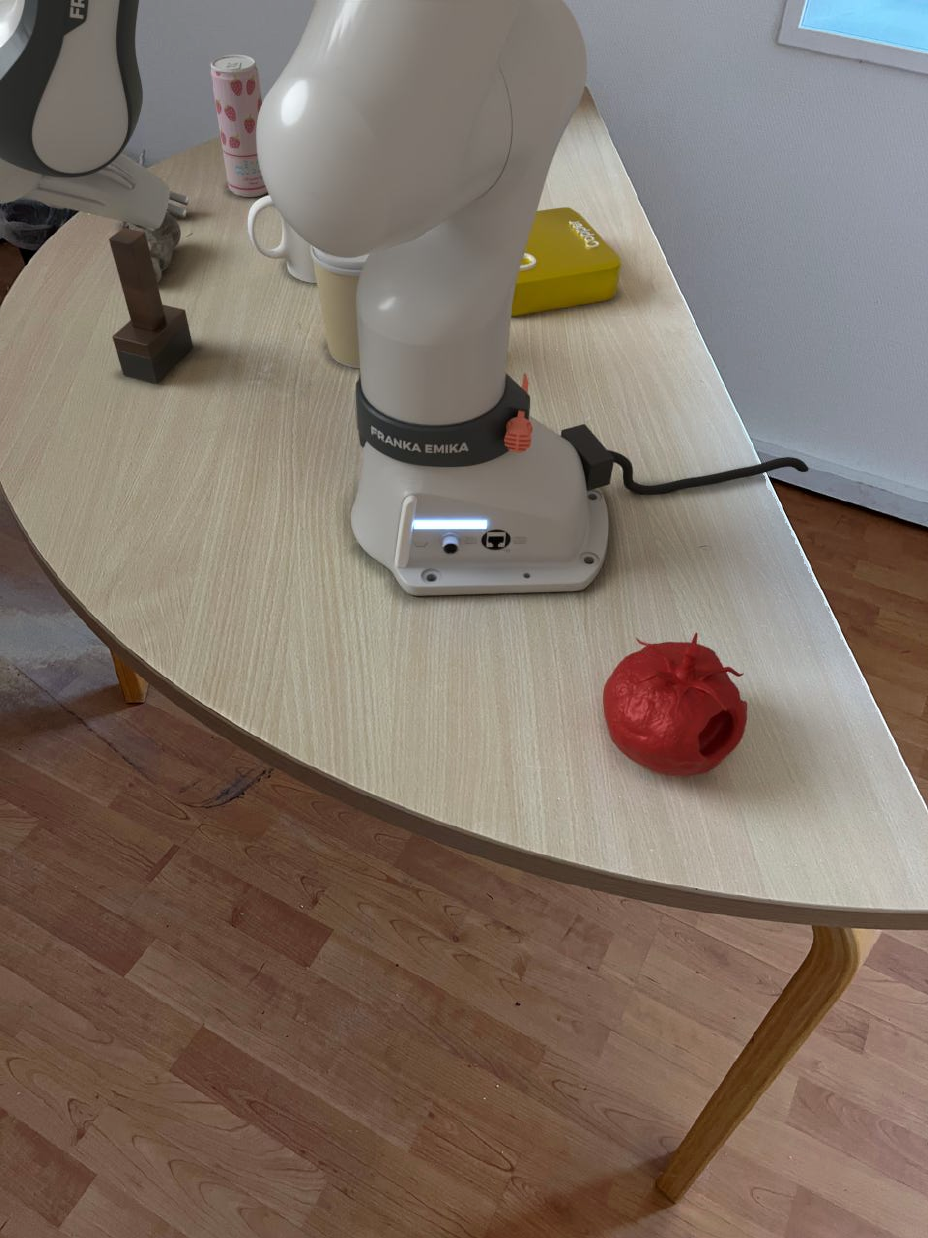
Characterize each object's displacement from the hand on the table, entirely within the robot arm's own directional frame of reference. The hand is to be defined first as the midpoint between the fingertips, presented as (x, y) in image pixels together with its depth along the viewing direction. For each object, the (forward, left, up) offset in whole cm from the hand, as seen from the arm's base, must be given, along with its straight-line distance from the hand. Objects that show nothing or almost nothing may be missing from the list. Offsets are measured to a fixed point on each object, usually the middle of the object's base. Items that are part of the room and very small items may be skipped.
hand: (104, 210), depth 82 cm
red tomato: (-52, +37, -17) cm, 66 cm away
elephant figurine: (+11, -33, -17) cm, 39 cm away
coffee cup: (-21, -8, -17) cm, 28 cm away
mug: (-11, -23, -17) cm, 31 cm away
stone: (+6, -21, -17) cm, 28 cm away
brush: (0, -2, -17) cm, 17 cm away
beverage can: (+1, -42, -17) cm, 45 cm away
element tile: (-38, -26, -17) cm, 49 cm away
